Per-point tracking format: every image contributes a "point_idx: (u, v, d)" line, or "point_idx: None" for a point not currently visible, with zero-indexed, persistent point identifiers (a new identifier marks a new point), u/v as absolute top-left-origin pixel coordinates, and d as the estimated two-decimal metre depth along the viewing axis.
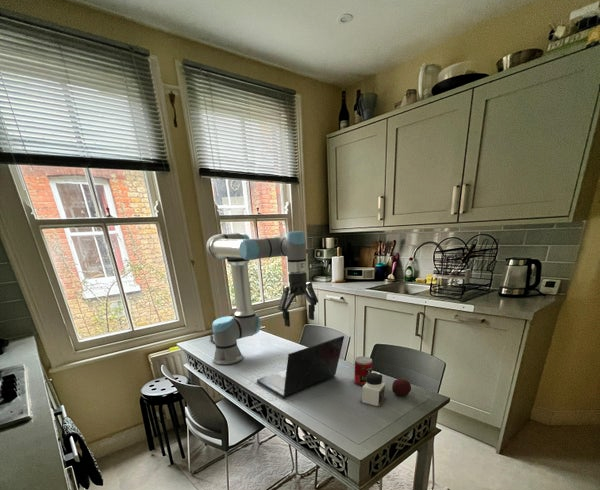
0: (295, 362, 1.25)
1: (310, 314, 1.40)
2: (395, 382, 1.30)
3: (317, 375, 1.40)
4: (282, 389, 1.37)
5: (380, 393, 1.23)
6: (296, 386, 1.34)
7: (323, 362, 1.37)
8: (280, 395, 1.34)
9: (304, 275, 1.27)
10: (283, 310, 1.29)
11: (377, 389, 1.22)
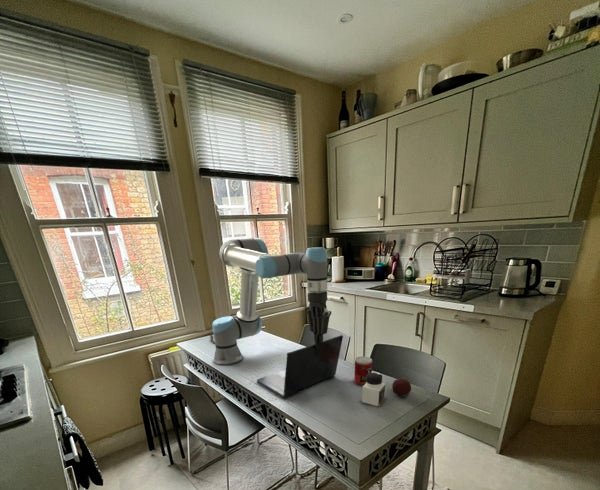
0: (294, 361, 1.25)
1: None
2: (395, 382, 1.30)
3: (317, 375, 1.40)
4: (282, 389, 1.37)
5: (380, 393, 1.23)
6: (296, 386, 1.34)
7: (322, 362, 1.37)
8: (280, 395, 1.34)
9: (311, 295, 1.17)
10: (313, 333, 1.27)
11: (377, 389, 1.22)
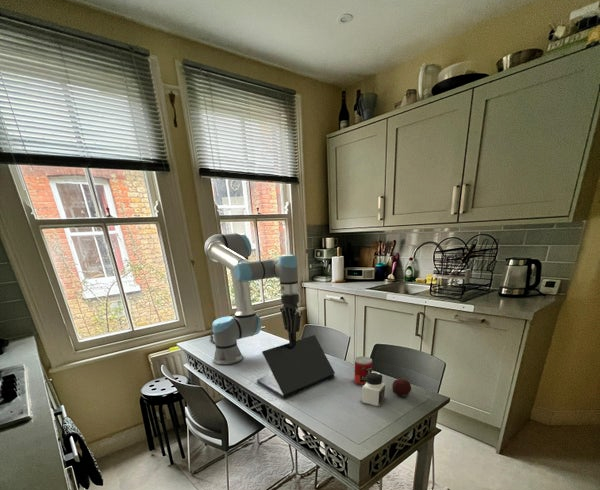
0: (274, 358, 1.37)
1: None
2: (395, 382, 1.30)
3: (311, 372, 1.43)
4: None
5: (380, 393, 1.23)
6: (292, 383, 1.36)
7: (308, 359, 1.45)
8: (280, 395, 1.34)
9: (283, 297, 1.31)
10: None
11: (377, 389, 1.22)
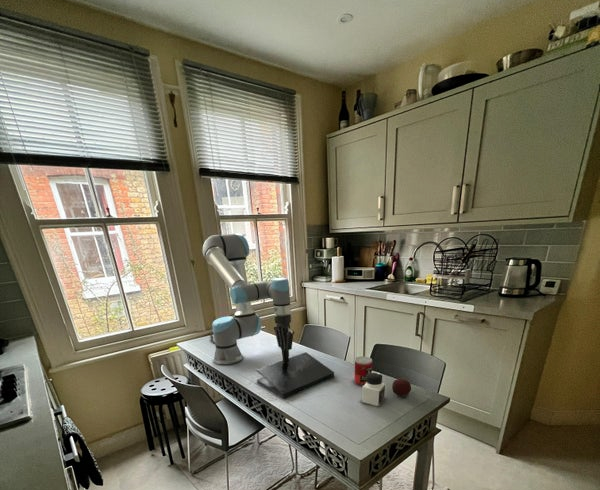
0: (268, 371, 1.44)
1: None
2: (395, 382, 1.30)
3: (308, 375, 1.45)
4: None
5: (380, 393, 1.23)
6: (290, 385, 1.37)
7: (303, 367, 1.50)
8: (280, 395, 1.34)
9: (277, 318, 1.40)
10: (281, 348, 1.50)
11: (377, 389, 1.22)
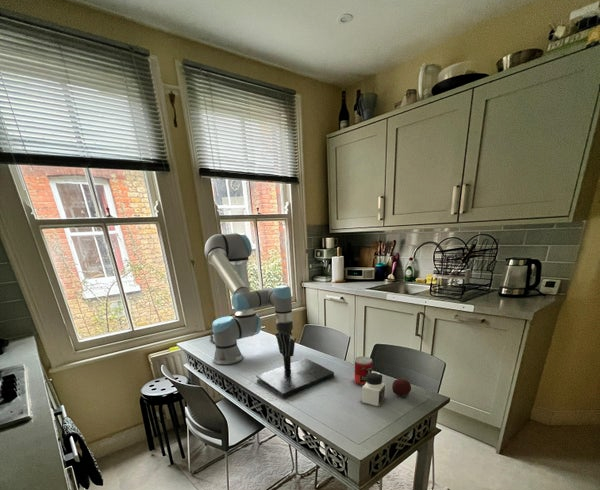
0: (268, 376, 1.46)
1: None
2: (395, 382, 1.30)
3: (308, 376, 1.45)
4: None
5: (380, 393, 1.23)
6: (290, 386, 1.38)
7: (303, 370, 1.51)
8: (280, 395, 1.34)
9: (278, 325, 1.40)
10: None
11: (377, 389, 1.22)
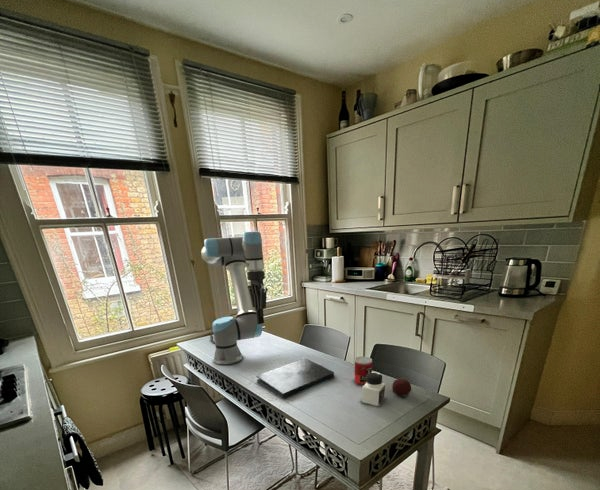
0: (268, 376, 1.46)
1: None
2: (395, 382, 1.30)
3: (308, 376, 1.45)
4: None
5: (380, 393, 1.23)
6: (290, 386, 1.38)
7: (303, 370, 1.51)
8: (280, 395, 1.34)
9: (249, 274, 1.34)
10: None
11: (377, 389, 1.22)
